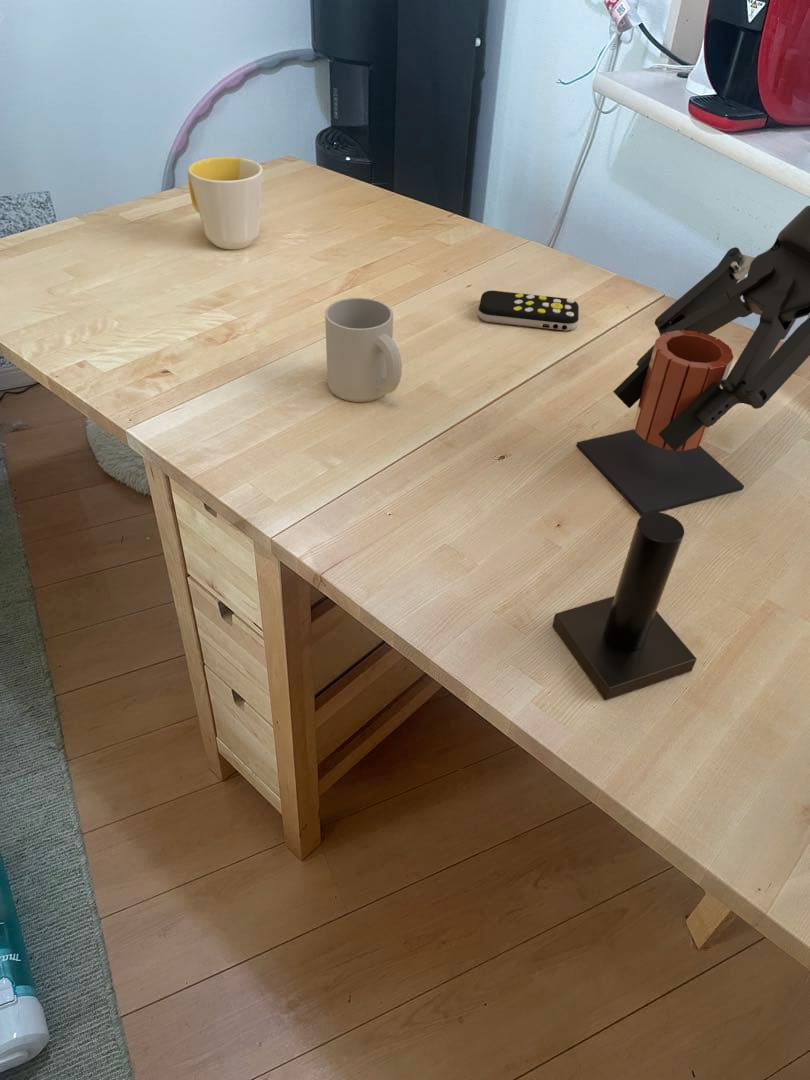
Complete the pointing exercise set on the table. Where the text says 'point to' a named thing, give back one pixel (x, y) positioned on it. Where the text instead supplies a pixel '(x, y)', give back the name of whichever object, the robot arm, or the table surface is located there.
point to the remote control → (529, 310)
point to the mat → (657, 472)
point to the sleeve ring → (679, 382)
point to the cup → (361, 350)
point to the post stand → (631, 618)
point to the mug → (227, 199)
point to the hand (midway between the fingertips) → (643, 420)
